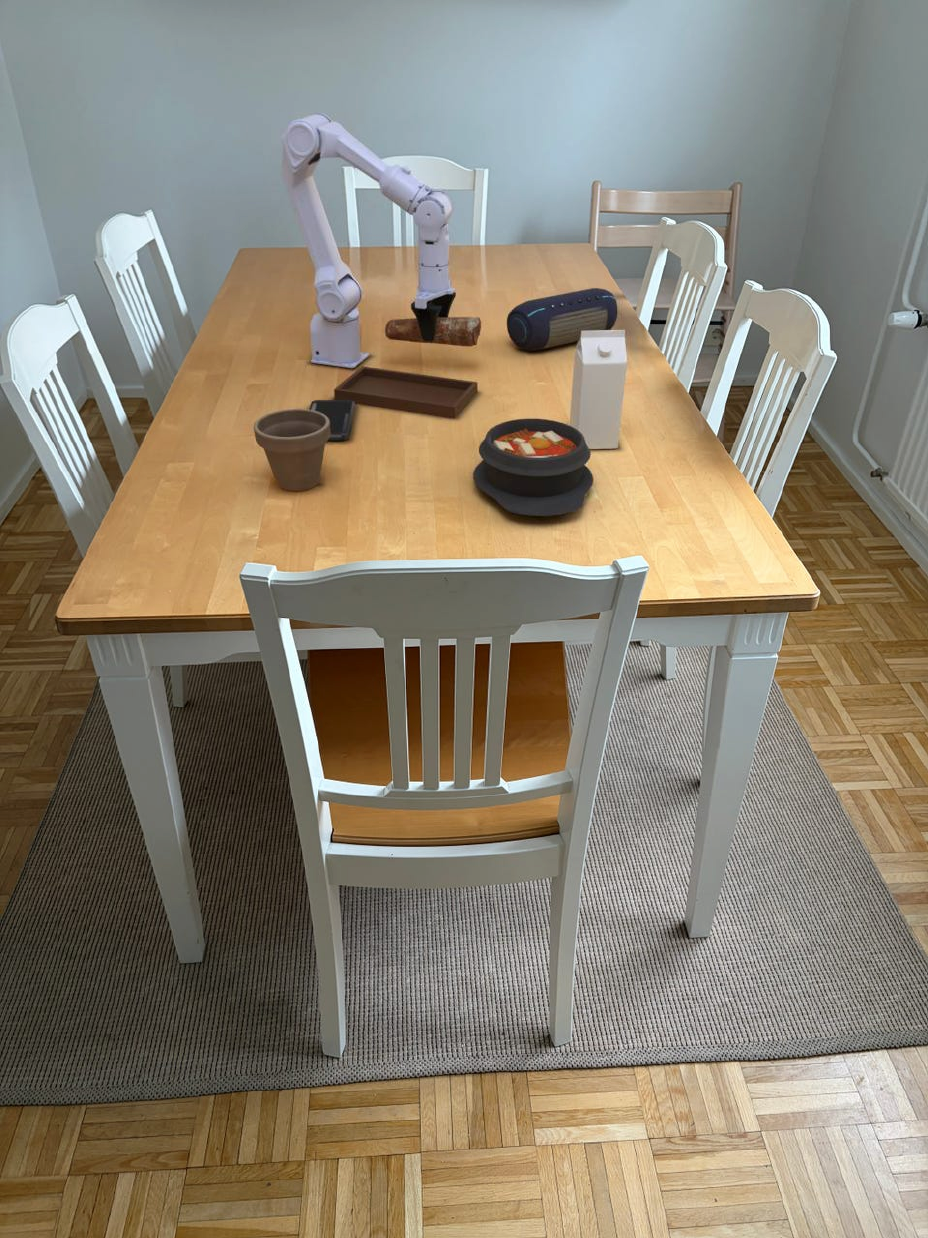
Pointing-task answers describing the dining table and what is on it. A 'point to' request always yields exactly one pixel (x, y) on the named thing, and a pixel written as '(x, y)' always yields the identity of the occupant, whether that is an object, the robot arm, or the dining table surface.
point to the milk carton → (599, 387)
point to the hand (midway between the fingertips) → (433, 335)
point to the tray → (407, 391)
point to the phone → (336, 416)
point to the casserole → (535, 467)
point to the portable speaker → (561, 318)
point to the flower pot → (294, 446)
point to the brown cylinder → (437, 330)
